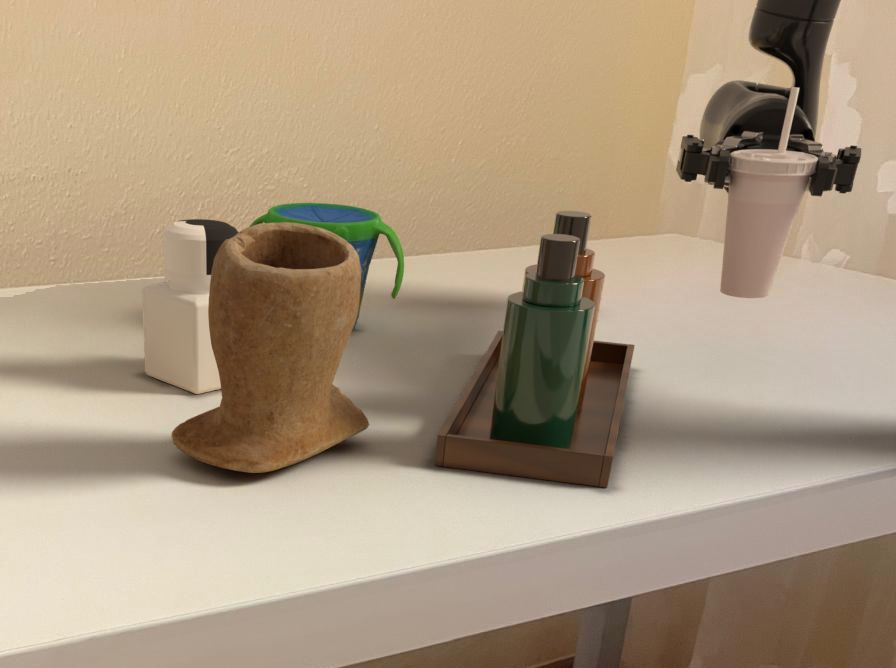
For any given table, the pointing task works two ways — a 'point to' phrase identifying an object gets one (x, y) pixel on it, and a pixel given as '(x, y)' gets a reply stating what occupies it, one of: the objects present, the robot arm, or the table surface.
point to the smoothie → (762, 211)
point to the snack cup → (343, 231)
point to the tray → (582, 464)
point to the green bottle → (543, 350)
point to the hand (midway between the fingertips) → (771, 176)
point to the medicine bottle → (184, 307)
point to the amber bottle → (581, 273)
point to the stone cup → (278, 349)
